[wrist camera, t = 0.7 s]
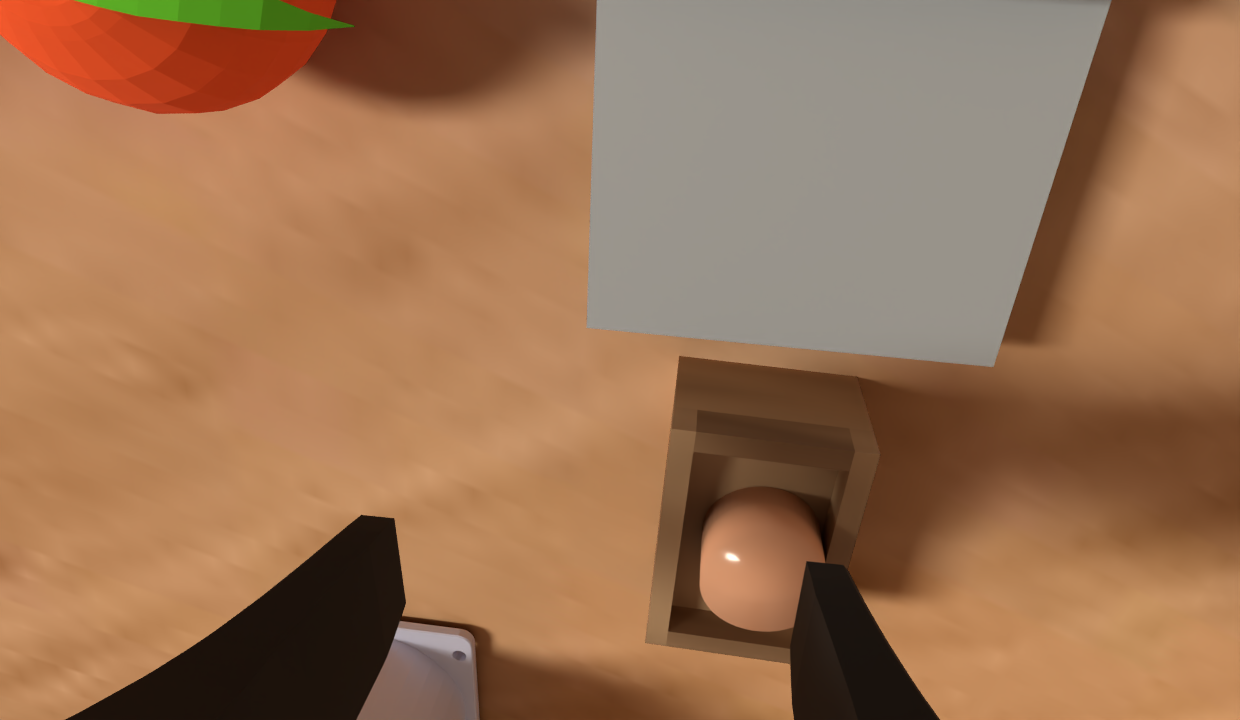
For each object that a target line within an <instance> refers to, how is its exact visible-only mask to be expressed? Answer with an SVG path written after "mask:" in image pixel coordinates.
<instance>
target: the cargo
mask: <svg viewBox="0 0 1240 720" xmlns="http://www.w3.org/2000/svg"><path fill="white" fill-rule="evenodd" d="M806 561H810V562H820V563H825V557H824V551H823V544H822V537H821V531H820V525H819V521H818V519H817V516H816V515H815V513H814V511H813V510H812V509H811V507H810V506H809V505H808V504H807V503H806V502H805V501H803V500H802V499H800V498H799V497H797V496H796V495H794V494H792V493H789V492H787V491H784V490H781V489H777V488H772V487H748V488H743V489H739V490H736V491H733V492H731V493H729V494H727V495H725V496H723V497H722V498H720V499H719V500H717V501H716V502H715V503H714V504H713V505H712V506H711V507H710V509H709V510H708V512H707V513H706V515H705V518H704V520H703V524H702V540H701V562H700V591H701V595H702V597H703V599H704V601H705V603H706V604H707V606H708V607H709V608H710V610H711V611H712V612H713V613H714V614H716V615H717V616H718V617H719V618H721V619H722V620H724V621H726V622H728V623H730V624H732V625H734V626H737V627H740V628H743V629H747V630H752V631H762V632H771V631H780V630H785V629H789V628H792V627H794V623H795V618H796V612H797V607H798V602H799V597H800V592H801V587H802V582H803V576H804V571H805V566H806Z"/></svg>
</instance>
